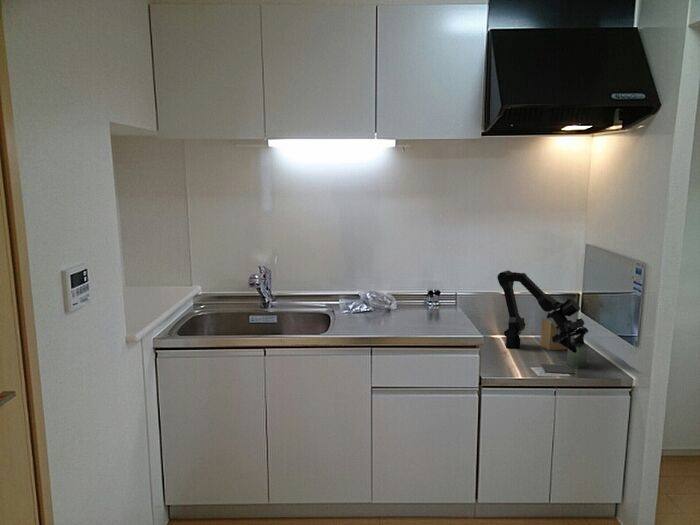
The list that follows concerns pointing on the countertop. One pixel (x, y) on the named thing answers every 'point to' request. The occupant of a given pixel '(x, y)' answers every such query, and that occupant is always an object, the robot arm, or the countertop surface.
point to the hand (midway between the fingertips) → (580, 351)
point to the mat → (557, 369)
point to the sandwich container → (549, 336)
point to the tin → (578, 355)
